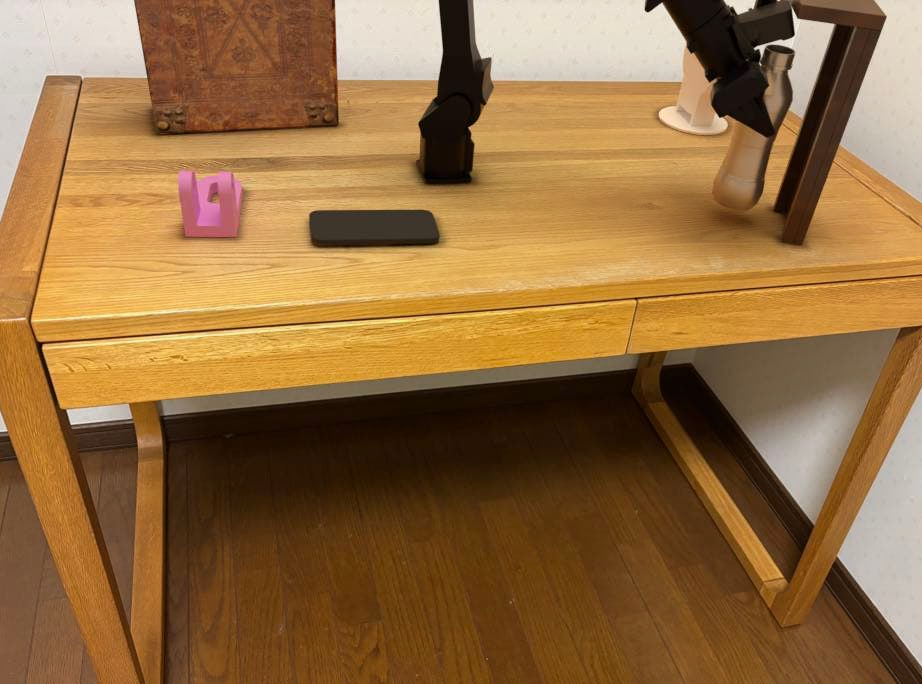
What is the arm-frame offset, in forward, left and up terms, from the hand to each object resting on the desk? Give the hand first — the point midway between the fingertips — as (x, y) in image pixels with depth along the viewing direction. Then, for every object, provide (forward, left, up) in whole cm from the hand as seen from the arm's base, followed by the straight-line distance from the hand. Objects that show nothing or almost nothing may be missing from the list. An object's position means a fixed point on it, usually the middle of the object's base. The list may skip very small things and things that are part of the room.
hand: (768, 125), depth 105 cm
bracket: (-67, +9, -13) cm, 69 cm away
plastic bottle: (-1, +1, -11) cm, 11 cm away
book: (-62, +37, -13) cm, 73 cm away
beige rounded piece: (+9, +33, -13) cm, 37 cm away
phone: (-49, +2, -13) cm, 50 cm away
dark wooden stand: (+3, -1, -13) cm, 13 cm away
